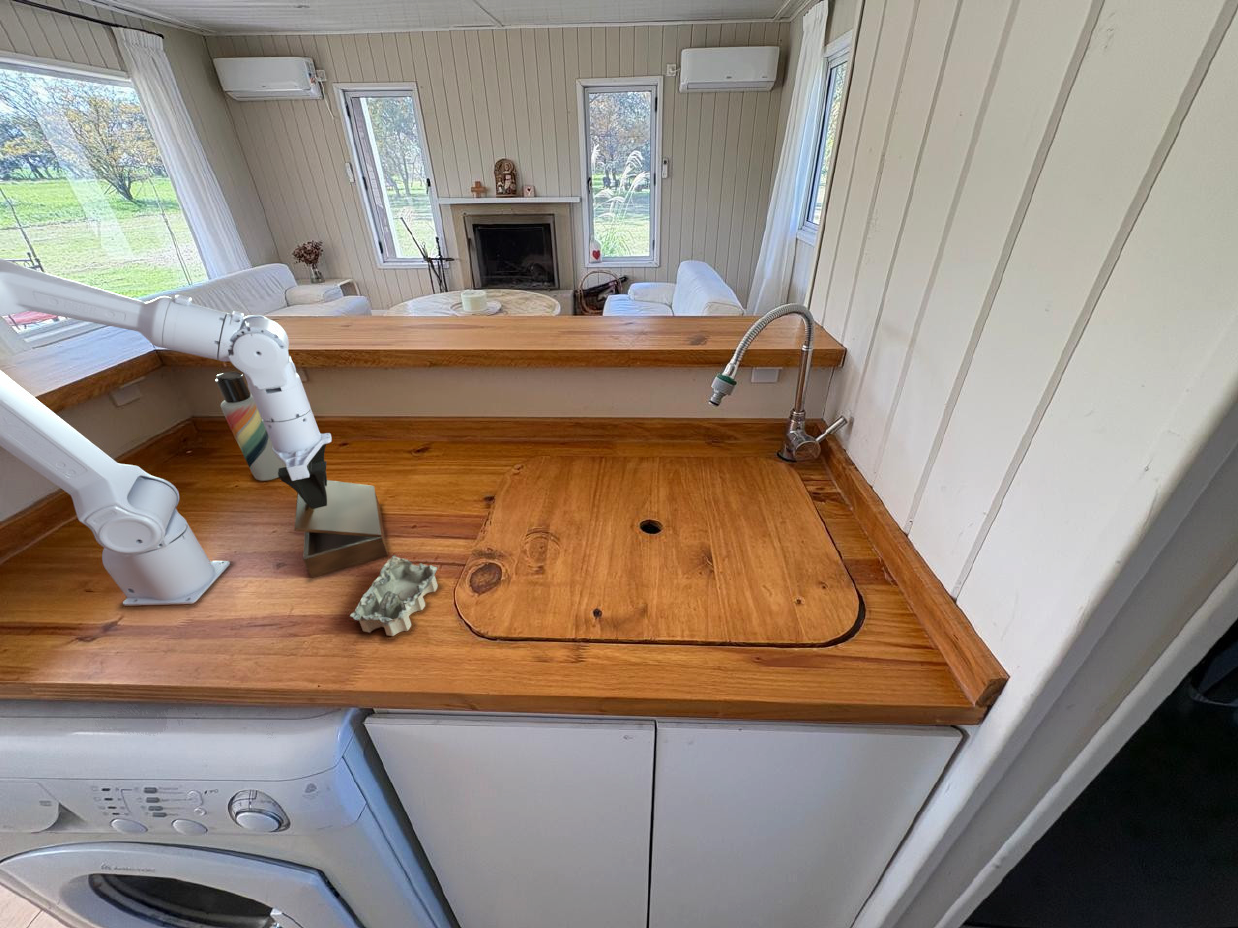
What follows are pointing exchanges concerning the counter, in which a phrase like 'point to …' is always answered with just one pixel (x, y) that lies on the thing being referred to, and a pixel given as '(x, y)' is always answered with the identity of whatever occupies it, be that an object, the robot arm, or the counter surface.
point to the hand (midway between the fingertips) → (319, 496)
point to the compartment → (341, 550)
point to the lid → (341, 511)
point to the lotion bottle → (248, 426)
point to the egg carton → (395, 596)
